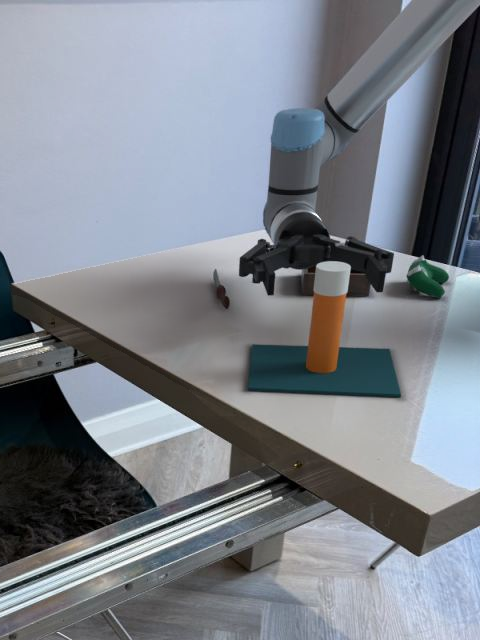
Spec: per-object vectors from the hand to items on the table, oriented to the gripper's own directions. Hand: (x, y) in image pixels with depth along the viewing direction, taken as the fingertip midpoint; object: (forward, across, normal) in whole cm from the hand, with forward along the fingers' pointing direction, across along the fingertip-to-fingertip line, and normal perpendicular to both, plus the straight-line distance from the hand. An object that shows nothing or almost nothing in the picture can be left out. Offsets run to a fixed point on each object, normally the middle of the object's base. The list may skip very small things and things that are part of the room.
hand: (326, 283), depth 99 cm
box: (-29, -8, -10) cm, 32 cm away
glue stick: (+4, 0, -10) cm, 10 cm away
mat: (+4, 0, -10) cm, 11 cm away
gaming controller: (-26, -21, -10) cm, 35 cm away
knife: (-25, +11, -10) cm, 29 cm away
